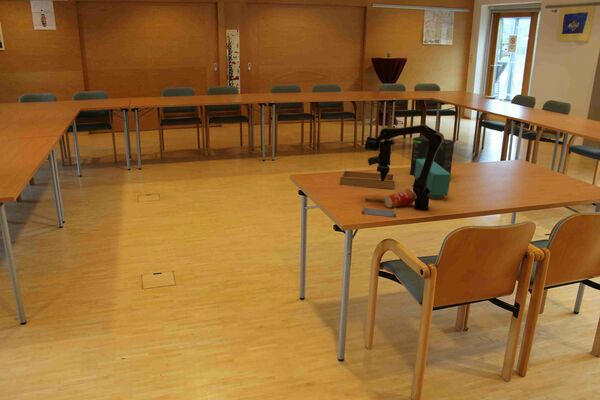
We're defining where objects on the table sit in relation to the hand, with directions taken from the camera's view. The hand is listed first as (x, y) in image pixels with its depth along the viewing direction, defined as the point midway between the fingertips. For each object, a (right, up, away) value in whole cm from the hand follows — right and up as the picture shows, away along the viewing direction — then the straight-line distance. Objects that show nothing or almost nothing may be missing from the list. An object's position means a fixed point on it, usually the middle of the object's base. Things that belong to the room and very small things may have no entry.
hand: (382, 181), depth 270 cm
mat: (-4, -16, -14) cm, 22 cm away
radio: (+31, -5, +25) cm, 40 cm away
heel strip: (-1, -11, +1) cm, 11 cm away
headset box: (+38, +5, +55) cm, 68 cm away
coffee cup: (+2, -11, -7) cm, 13 cm away
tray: (-3, -1, +35) cm, 35 cm away
